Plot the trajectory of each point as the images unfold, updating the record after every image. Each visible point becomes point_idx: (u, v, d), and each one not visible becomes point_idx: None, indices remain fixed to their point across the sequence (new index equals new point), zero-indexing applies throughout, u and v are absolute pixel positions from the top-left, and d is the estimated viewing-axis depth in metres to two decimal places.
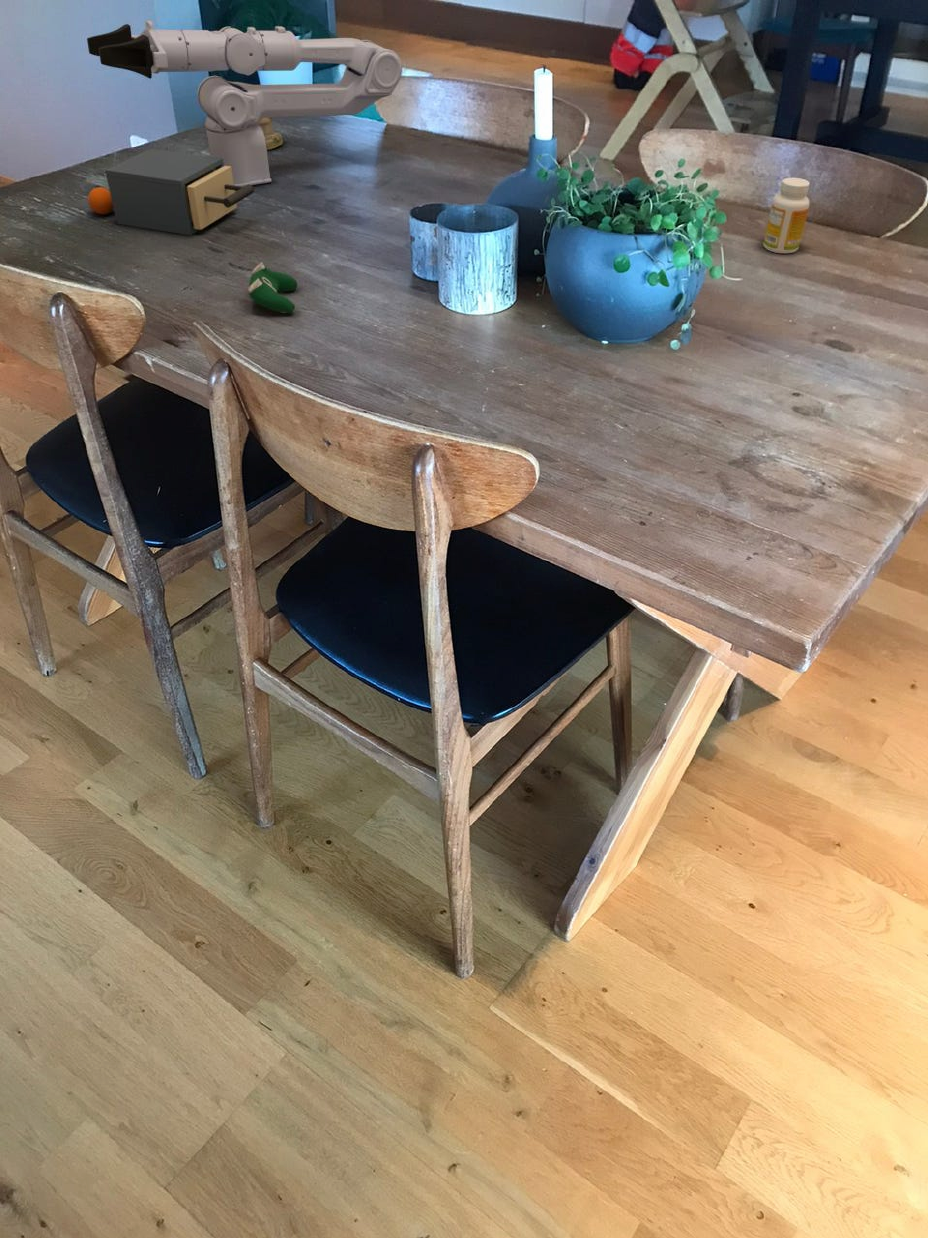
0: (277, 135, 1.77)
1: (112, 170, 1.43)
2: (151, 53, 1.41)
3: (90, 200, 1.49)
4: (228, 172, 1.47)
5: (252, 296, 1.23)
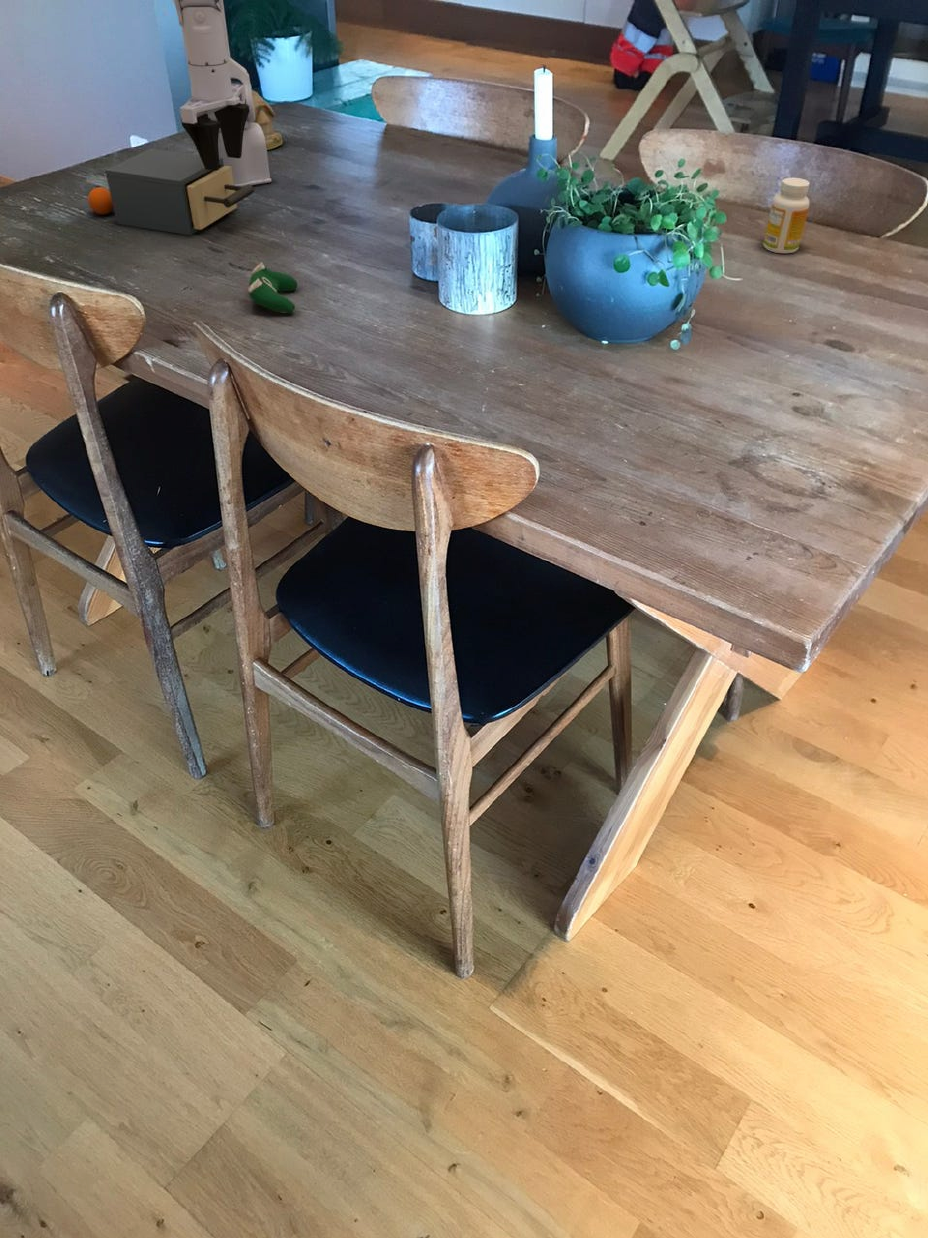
0: (277, 135, 1.77)
1: (112, 170, 1.43)
2: (239, 102, 1.41)
3: (90, 200, 1.49)
4: (228, 172, 1.47)
5: (252, 296, 1.23)
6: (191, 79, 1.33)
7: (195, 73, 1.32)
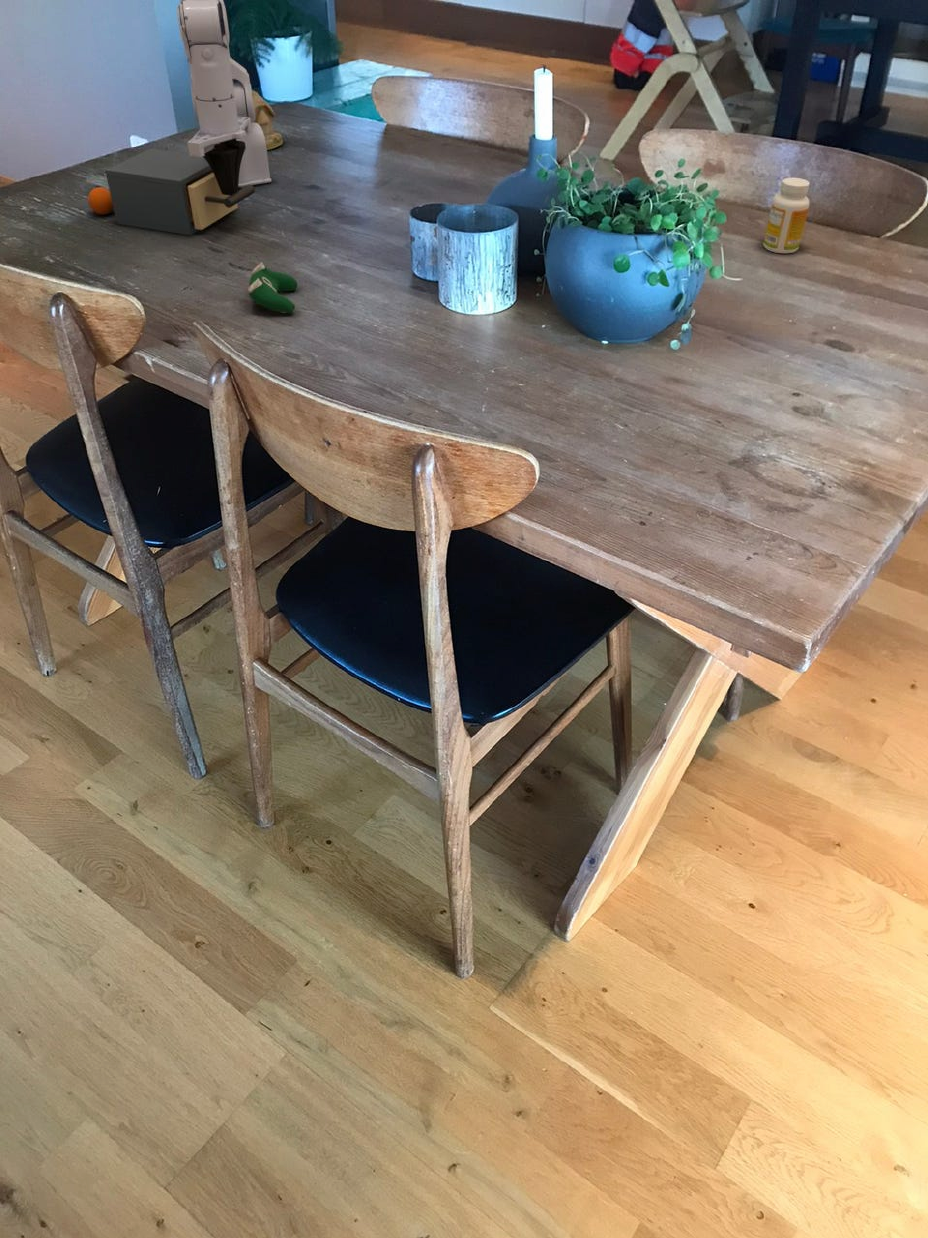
0: (277, 135, 1.77)
1: (112, 170, 1.43)
2: (235, 139, 1.41)
3: (90, 200, 1.49)
4: None
5: (252, 296, 1.23)
6: (198, 113, 1.36)
7: (202, 108, 1.34)
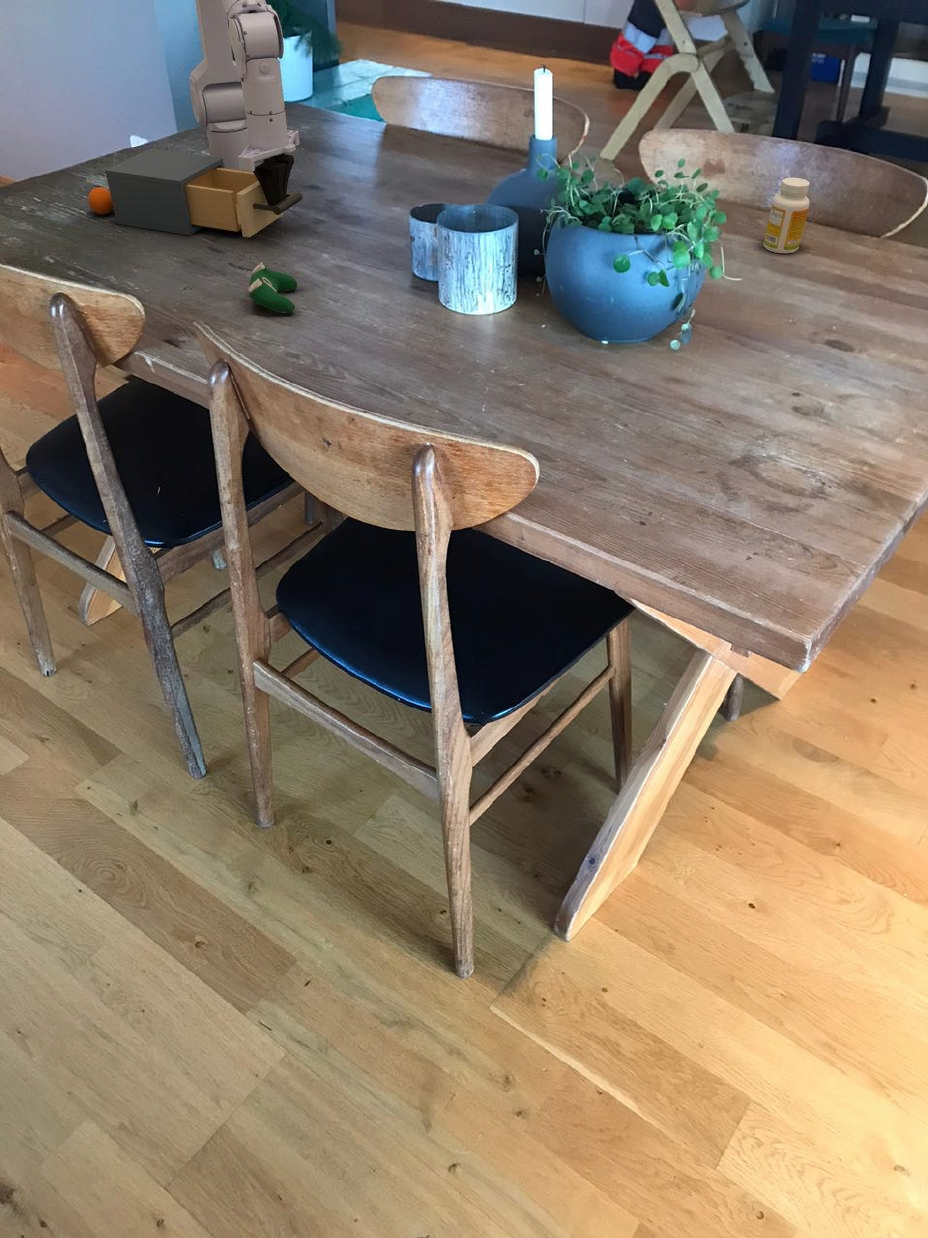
0: None
1: (112, 170, 1.43)
2: (283, 153, 1.40)
3: (90, 200, 1.49)
4: None
5: (252, 296, 1.23)
6: (248, 127, 1.34)
7: (253, 122, 1.33)
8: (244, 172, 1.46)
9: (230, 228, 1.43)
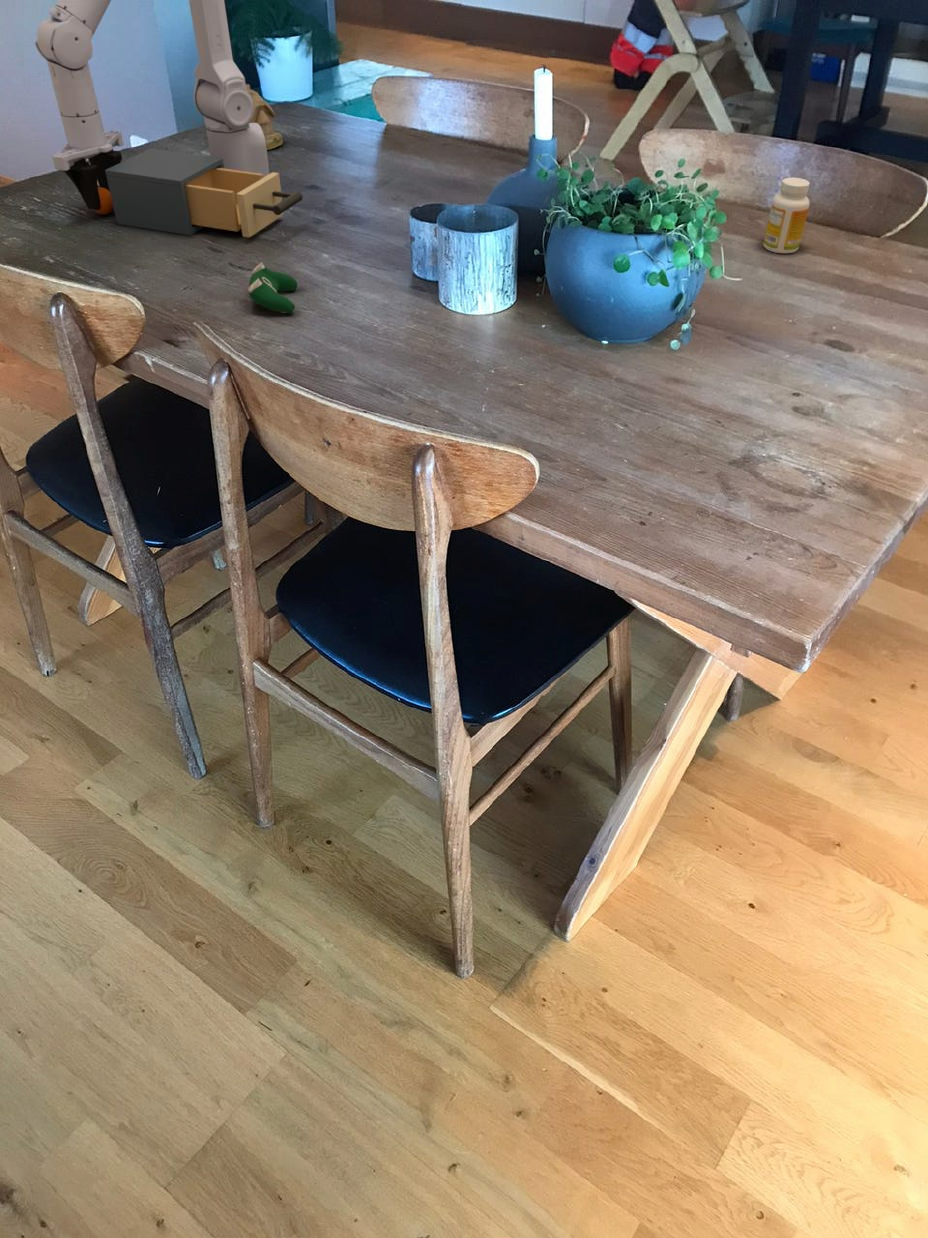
0: (277, 135, 1.77)
1: (112, 170, 1.43)
2: (112, 149, 1.49)
3: None
4: (276, 179, 1.45)
5: (252, 296, 1.23)
6: (64, 128, 1.42)
7: (67, 123, 1.41)
8: (244, 172, 1.46)
9: (230, 228, 1.43)
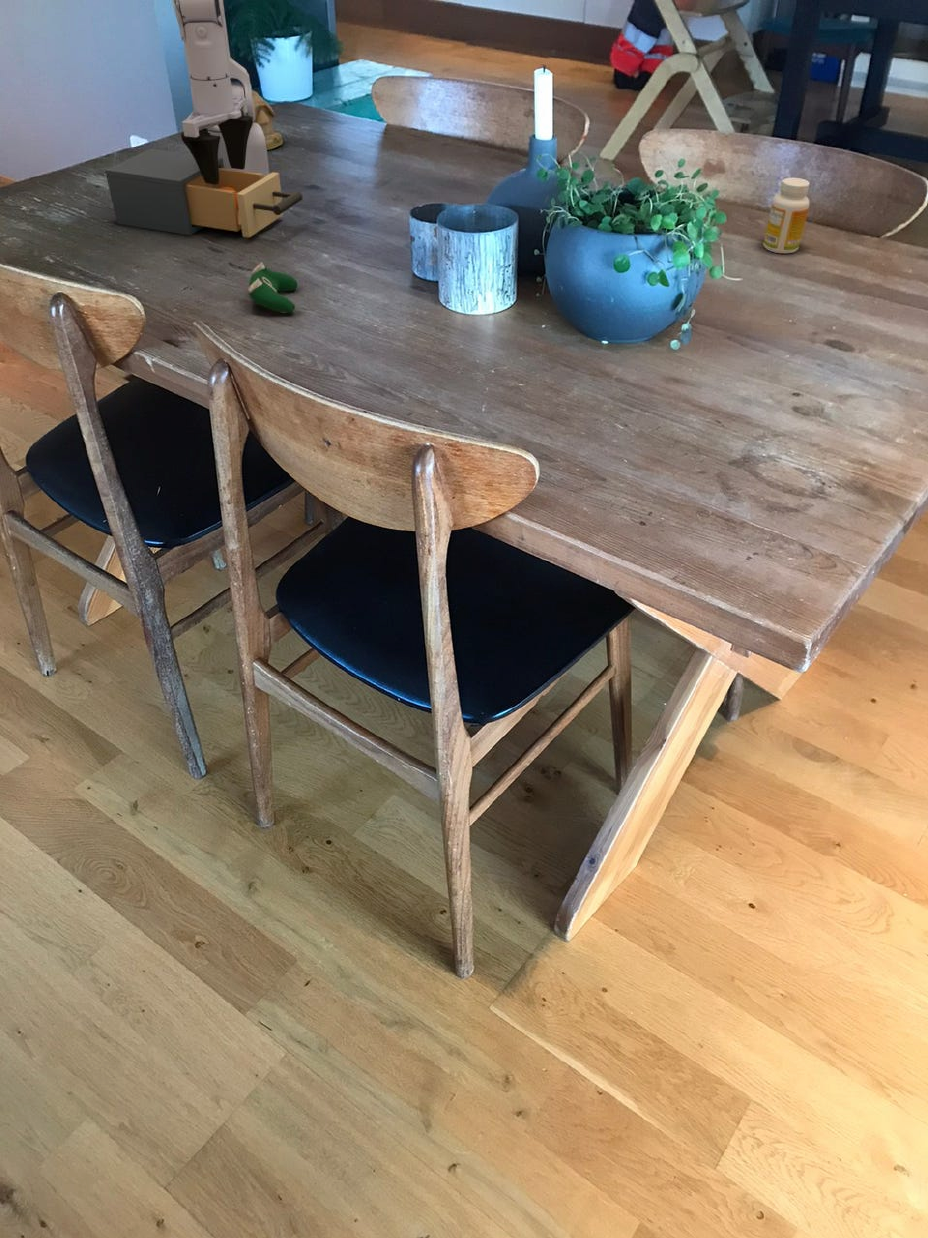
0: (277, 135, 1.77)
1: (112, 170, 1.43)
2: (242, 114, 1.42)
3: None
4: (276, 179, 1.45)
5: (252, 296, 1.23)
6: (193, 93, 1.34)
7: (197, 87, 1.33)
8: (244, 172, 1.46)
9: (230, 228, 1.43)
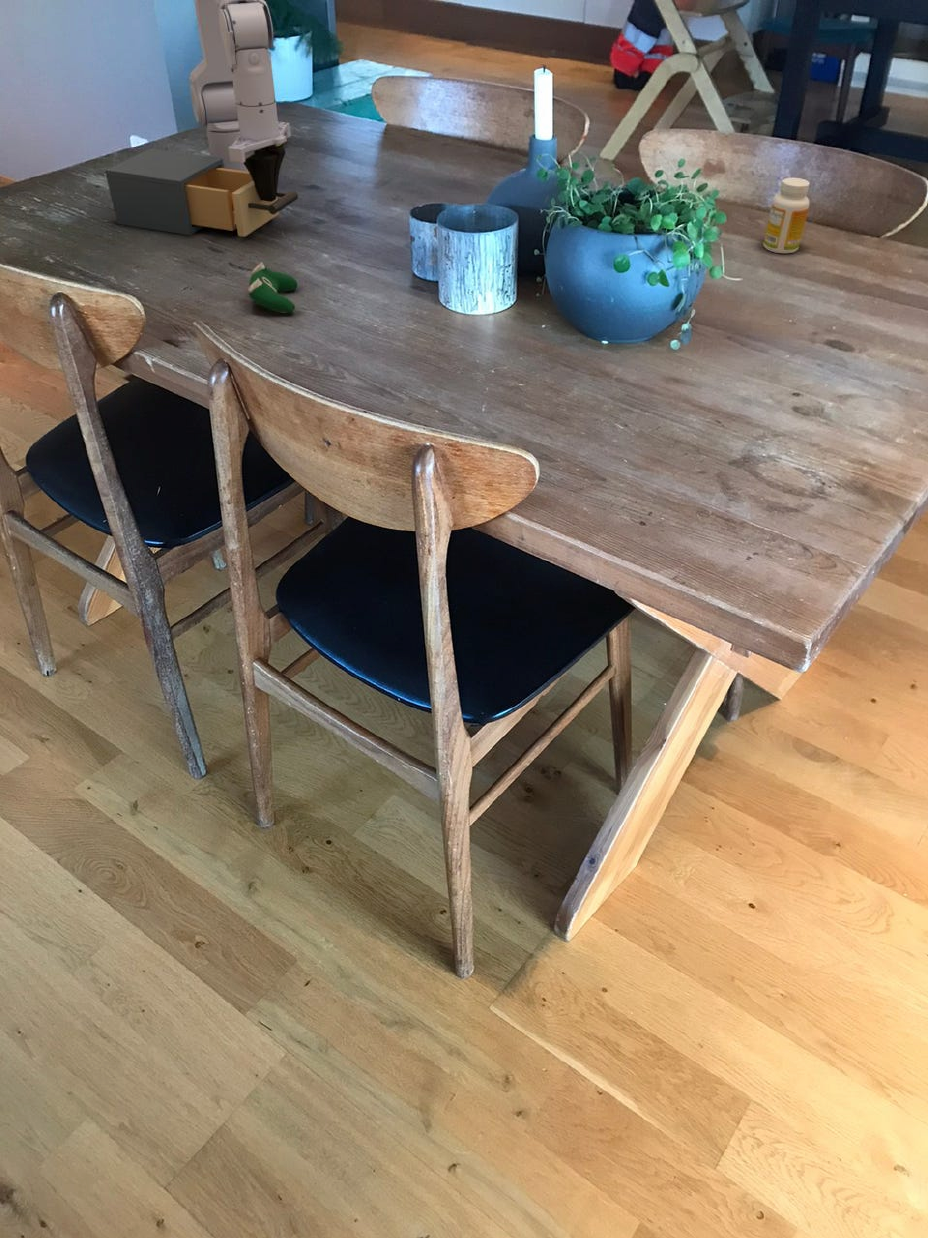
0: None
1: (112, 170, 1.43)
2: (274, 145, 1.40)
3: None
4: None
5: (252, 296, 1.23)
6: (239, 119, 1.34)
7: (243, 113, 1.33)
8: (240, 171, 1.46)
9: (226, 227, 1.43)
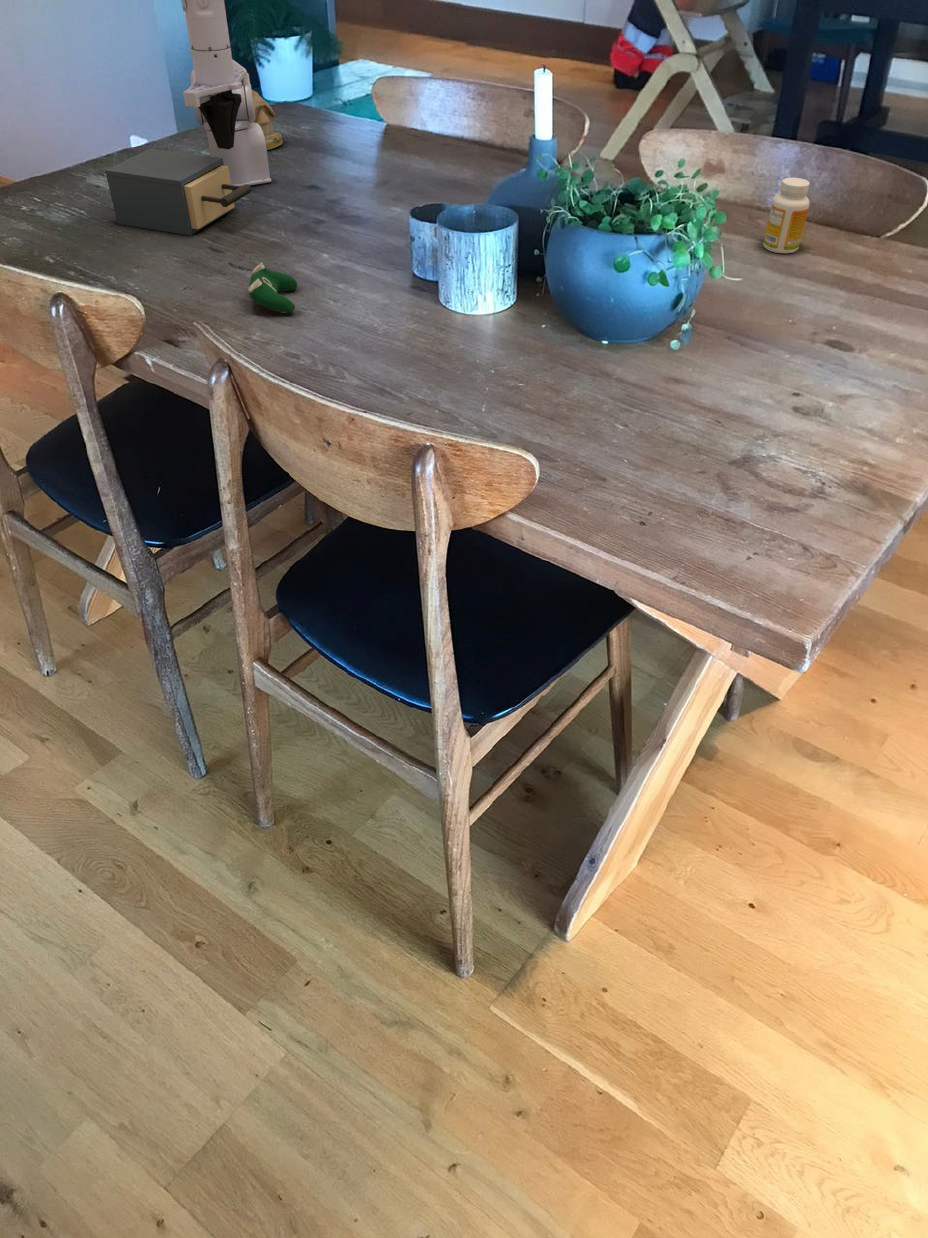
0: (277, 135, 1.77)
1: (112, 170, 1.43)
2: (231, 92, 1.41)
3: None
4: (225, 172, 1.47)
5: (252, 296, 1.23)
6: (194, 64, 1.35)
7: (198, 58, 1.34)
8: None
9: None
